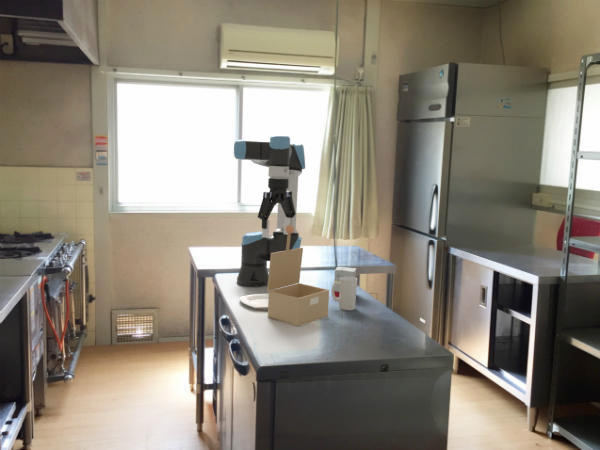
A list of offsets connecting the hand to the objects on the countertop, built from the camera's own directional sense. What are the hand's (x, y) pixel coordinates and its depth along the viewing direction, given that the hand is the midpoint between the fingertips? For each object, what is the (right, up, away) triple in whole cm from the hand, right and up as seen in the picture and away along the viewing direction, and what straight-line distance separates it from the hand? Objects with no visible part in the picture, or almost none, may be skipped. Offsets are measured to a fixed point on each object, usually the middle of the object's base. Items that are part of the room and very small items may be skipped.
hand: (276, 235), depth 213 cm
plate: (-5, -28, +12) cm, 31 cm away
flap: (+5, -8, -3) cm, 10 cm away
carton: (+8, -30, -4) cm, 31 cm away
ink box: (+28, -26, +30) cm, 49 cm away
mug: (+26, -29, +10) cm, 40 cm away
